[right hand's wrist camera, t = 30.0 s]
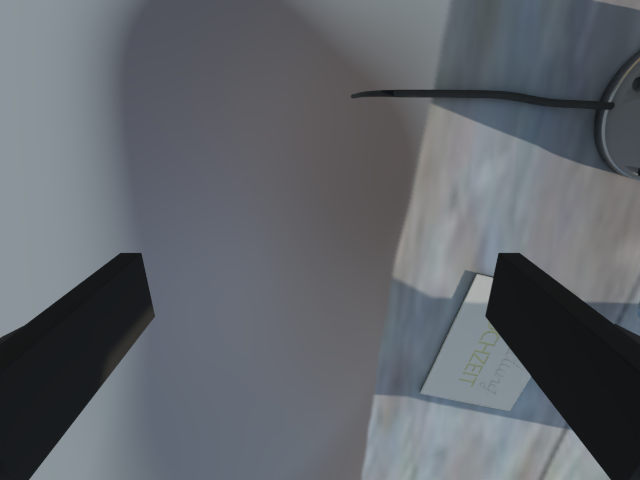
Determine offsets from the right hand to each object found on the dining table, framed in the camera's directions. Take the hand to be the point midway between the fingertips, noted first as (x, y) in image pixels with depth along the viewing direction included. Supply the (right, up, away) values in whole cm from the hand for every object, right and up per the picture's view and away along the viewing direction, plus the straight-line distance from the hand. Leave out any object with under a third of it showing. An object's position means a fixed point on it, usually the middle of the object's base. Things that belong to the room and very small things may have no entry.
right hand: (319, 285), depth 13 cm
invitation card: (+25, -14, +37) cm, 47 cm away
